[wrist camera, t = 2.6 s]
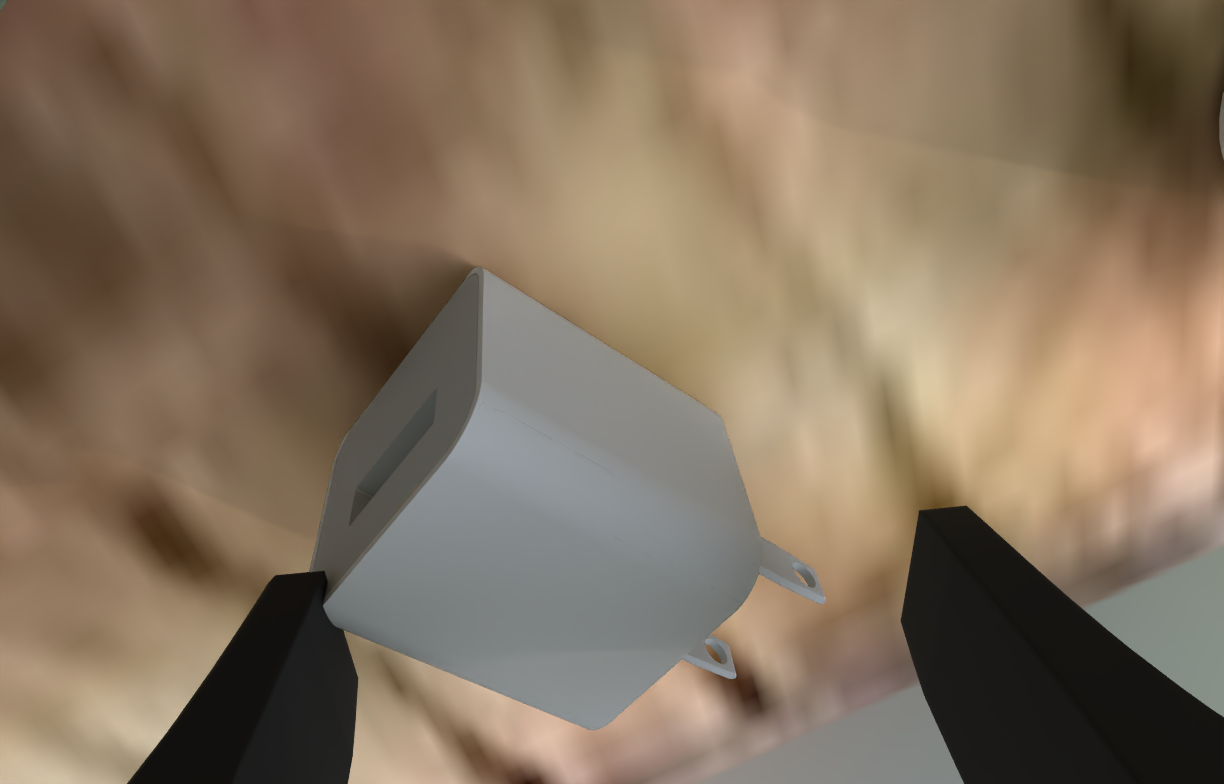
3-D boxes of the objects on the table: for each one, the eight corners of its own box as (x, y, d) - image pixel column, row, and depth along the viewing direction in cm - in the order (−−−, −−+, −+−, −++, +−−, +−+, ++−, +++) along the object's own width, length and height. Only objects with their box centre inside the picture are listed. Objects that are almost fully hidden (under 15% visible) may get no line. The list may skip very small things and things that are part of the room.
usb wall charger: (484, 248, 14) (480, 418, 10) (827, 465, 16) (910, 652, 13) (338, 439, 15) (294, 639, 12) (674, 606, 18) (714, 804, 15)
